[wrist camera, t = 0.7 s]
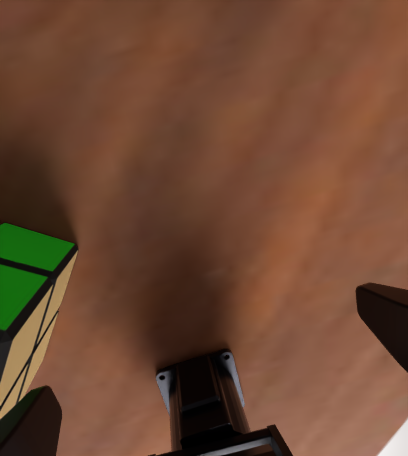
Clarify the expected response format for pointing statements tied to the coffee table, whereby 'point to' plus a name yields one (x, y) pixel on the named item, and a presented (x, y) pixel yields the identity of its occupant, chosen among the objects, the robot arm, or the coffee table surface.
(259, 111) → the coffee table surface
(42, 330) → the puzzle cube
